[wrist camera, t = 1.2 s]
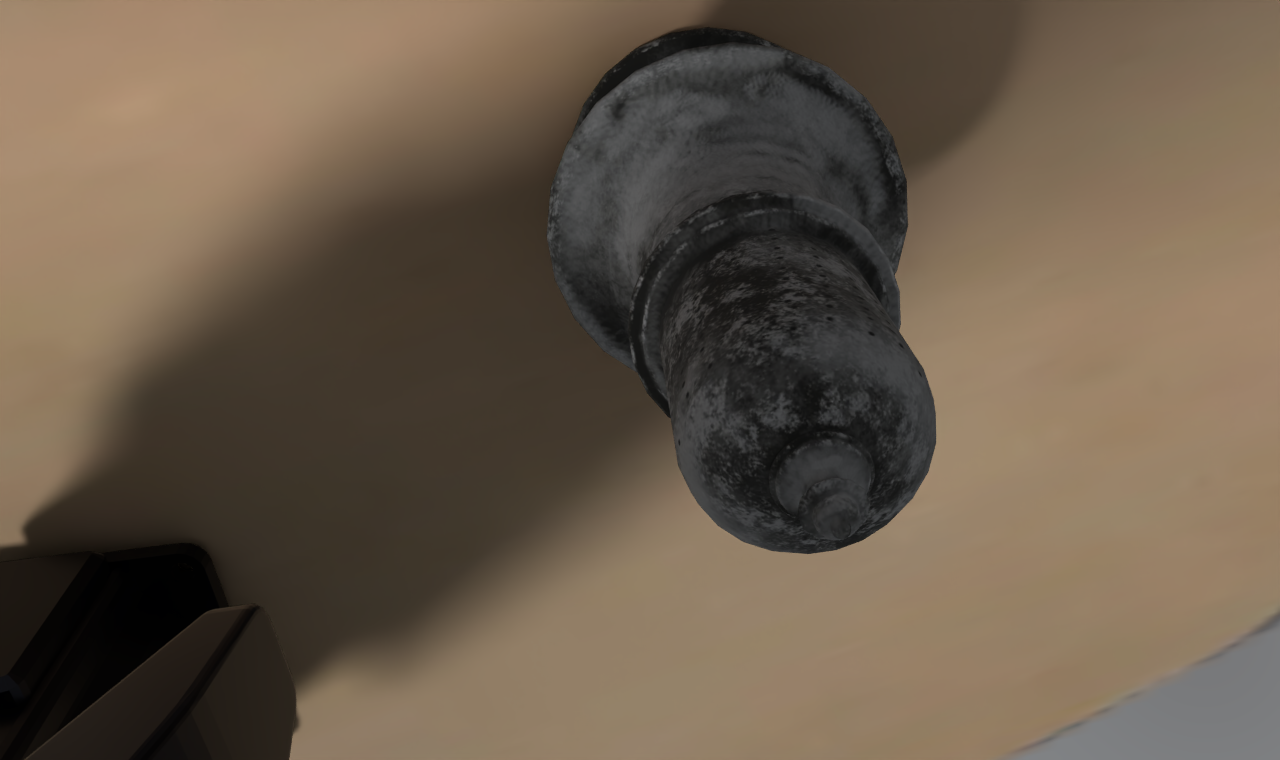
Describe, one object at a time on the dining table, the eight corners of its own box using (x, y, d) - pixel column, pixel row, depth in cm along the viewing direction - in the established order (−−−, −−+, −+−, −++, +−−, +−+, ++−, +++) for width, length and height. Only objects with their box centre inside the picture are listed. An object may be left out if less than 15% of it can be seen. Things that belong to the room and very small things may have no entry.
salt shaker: (826, -31, 19) (1150, 133, 8) (881, 267, 21) (1180, 691, 11) (510, 63, 19) (420, 337, 8) (602, 344, 22) (621, 823, 11)
